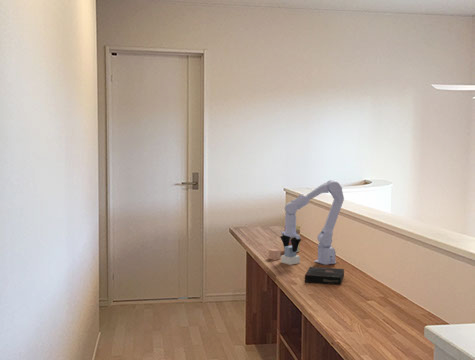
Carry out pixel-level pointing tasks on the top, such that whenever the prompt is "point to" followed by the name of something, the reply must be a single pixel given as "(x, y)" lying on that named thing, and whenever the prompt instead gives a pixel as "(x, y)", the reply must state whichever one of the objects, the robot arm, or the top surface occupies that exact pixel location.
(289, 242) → the candy box
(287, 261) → the white block
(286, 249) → the slate cube
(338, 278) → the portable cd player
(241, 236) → the top surface
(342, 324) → the top surface
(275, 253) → the terracotta block
